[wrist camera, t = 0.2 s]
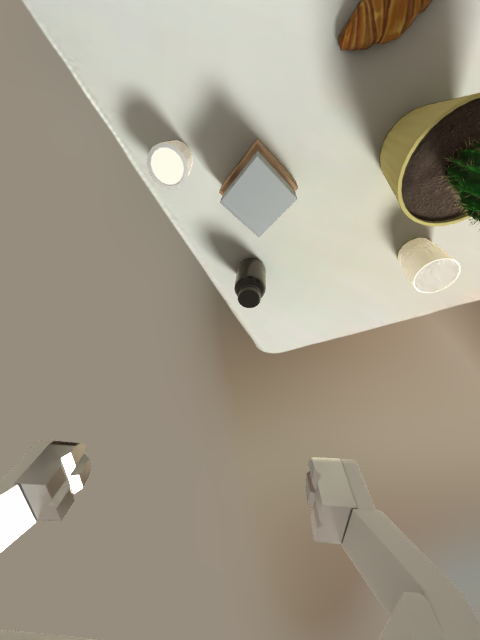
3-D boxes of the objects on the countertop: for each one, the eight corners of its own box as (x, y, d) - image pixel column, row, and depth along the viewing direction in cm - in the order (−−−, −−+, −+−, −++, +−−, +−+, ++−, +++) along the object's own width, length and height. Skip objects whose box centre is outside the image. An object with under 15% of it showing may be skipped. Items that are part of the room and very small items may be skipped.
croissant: (445, -75, 31) (469, -96, 27) (446, 4, 34) (468, -6, 31) (329, 13, 36) (337, 5, 32) (342, 72, 39) (350, 71, 36)
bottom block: (257, 138, 46) (257, 143, 42) (295, 180, 50) (298, 188, 46) (222, 184, 51) (219, 192, 47) (259, 219, 55) (258, 228, 51)
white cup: (389, 247, 57) (408, 272, 50) (429, 227, 54) (456, 250, 46) (400, 273, 61) (419, 299, 54) (438, 255, 57) (464, 280, 50)
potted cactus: (350, 147, 45) (432, 207, 23) (448, 57, 37) (717, 20, 15) (390, 212, 52) (483, 307, 30) (480, 148, 44) (698, 213, 22)
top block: (257, 149, 42) (257, 156, 39) (294, 189, 46) (297, 199, 42) (223, 193, 47) (220, 202, 44) (259, 226, 51) (258, 237, 47)
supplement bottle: (271, 265, 62) (272, 296, 53) (255, 285, 66) (254, 316, 57) (246, 251, 60) (243, 280, 51) (232, 272, 64) (227, 303, 55)
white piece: (154, 165, 49) (141, 174, 44) (166, 126, 45) (154, 132, 40) (187, 186, 51) (179, 197, 46) (202, 151, 47) (194, 159, 42)
